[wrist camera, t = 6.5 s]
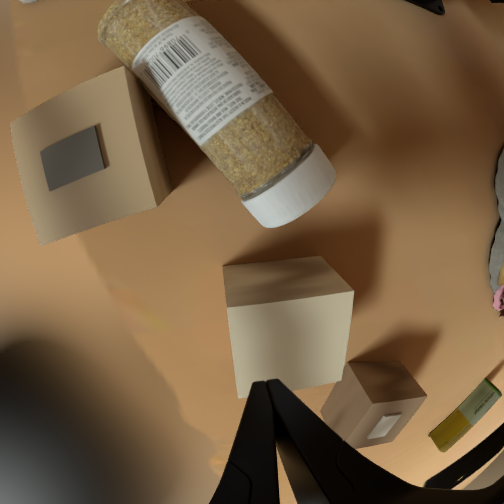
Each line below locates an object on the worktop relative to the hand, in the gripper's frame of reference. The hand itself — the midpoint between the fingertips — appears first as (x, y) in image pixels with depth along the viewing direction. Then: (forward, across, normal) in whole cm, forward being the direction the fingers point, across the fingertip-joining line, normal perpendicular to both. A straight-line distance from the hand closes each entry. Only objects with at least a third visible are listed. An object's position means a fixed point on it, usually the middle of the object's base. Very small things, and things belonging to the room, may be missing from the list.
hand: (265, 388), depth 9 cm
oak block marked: (+10, +7, -8) cm, 14 cm away
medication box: (+10, -30, +26) cm, 41 cm away
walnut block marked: (+10, -10, +12) cm, 19 cm away
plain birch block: (+10, -2, +2) cm, 10 cm away
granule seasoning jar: (+7, +5, -16) cm, 18 cm away
